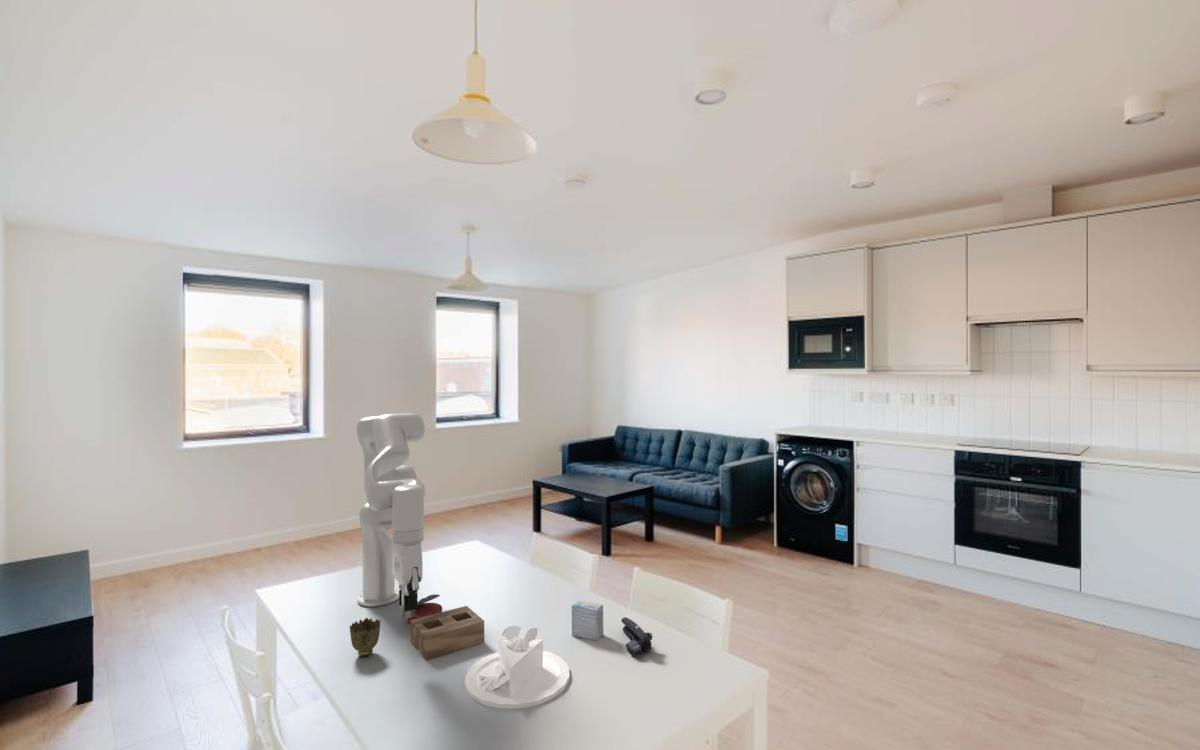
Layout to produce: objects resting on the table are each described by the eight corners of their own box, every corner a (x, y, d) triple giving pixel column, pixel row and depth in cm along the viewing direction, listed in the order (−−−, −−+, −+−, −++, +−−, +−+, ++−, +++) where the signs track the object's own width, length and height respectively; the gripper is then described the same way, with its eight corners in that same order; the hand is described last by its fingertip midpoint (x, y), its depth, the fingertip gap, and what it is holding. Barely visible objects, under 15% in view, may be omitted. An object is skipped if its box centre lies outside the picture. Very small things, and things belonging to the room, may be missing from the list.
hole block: (410, 642, 155) (410, 620, 155) (466, 626, 164) (466, 605, 164) (425, 660, 145) (425, 637, 145) (484, 642, 155) (484, 620, 155)
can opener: (657, 657, 147) (657, 636, 147) (631, 661, 145) (631, 639, 145) (636, 627, 164) (636, 608, 164) (613, 630, 163) (613, 610, 163)
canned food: (413, 642, 165) (396, 615, 163) (417, 623, 174) (400, 597, 172) (449, 622, 166) (432, 594, 164) (451, 604, 176) (434, 578, 174)
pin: (399, 614, 144) (399, 579, 144) (412, 611, 146) (412, 576, 146) (403, 619, 142) (403, 583, 142) (416, 616, 144) (416, 580, 143)
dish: (478, 652, 150) (478, 610, 150) (573, 654, 149) (573, 611, 149) (451, 709, 125) (450, 657, 125) (564, 711, 124) (564, 659, 124)
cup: (386, 650, 151) (386, 620, 151) (366, 663, 144) (366, 632, 144) (363, 645, 153) (363, 616, 153) (343, 658, 146) (343, 627, 146)
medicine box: (603, 635, 159) (603, 604, 159) (597, 641, 155) (597, 610, 155) (578, 629, 163) (578, 599, 163) (571, 636, 159) (571, 605, 158)
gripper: (383, 529, 148) (383, 599, 148) (403, 546, 135) (403, 623, 135) (412, 524, 152) (412, 592, 153) (434, 540, 139) (434, 615, 140)
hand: (408, 606), depth 144 cm, fingers closed on pin, 3 cm apart
